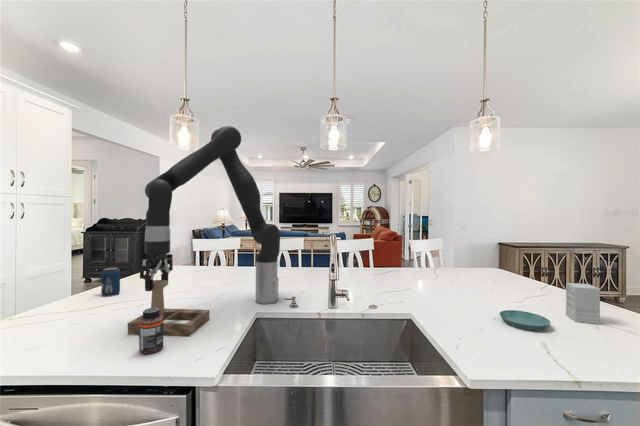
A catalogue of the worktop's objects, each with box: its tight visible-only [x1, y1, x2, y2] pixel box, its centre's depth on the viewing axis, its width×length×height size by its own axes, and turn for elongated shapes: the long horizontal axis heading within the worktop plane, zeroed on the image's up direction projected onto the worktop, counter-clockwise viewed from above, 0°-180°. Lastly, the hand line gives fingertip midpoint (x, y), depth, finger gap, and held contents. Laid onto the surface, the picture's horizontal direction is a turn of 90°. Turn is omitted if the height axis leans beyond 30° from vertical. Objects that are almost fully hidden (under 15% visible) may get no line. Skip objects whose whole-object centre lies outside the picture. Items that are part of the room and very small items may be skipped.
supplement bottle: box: [138, 307, 164, 355], centre depth 83 cm, size 6×6×11 cm
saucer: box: [498, 309, 551, 331], centre depth 104 cm, size 15×15×3 cm
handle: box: [150, 279, 169, 319], centre depth 100 cm, size 5×6×15 cm
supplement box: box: [565, 282, 601, 325], centre depth 108 cm, size 7×7×13 cm
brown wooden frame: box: [127, 308, 210, 337], centre depth 99 cm, size 20×14×4 cm
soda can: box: [100, 266, 121, 297], centre depth 135 cm, size 7×7×12 cm
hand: (157, 287), depth 99 cm, fingers open, 8 cm apart
